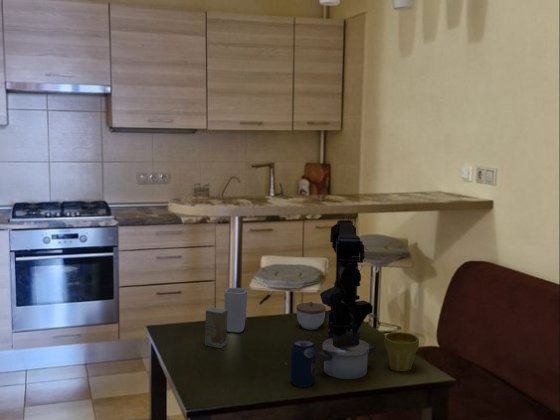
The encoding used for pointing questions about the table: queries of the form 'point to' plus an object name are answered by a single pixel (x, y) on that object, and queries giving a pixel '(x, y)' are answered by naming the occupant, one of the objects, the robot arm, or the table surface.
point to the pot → (345, 365)
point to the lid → (346, 345)
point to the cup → (236, 309)
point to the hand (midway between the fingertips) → (345, 329)
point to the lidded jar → (310, 315)
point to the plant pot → (401, 350)
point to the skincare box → (216, 327)
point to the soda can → (303, 362)
